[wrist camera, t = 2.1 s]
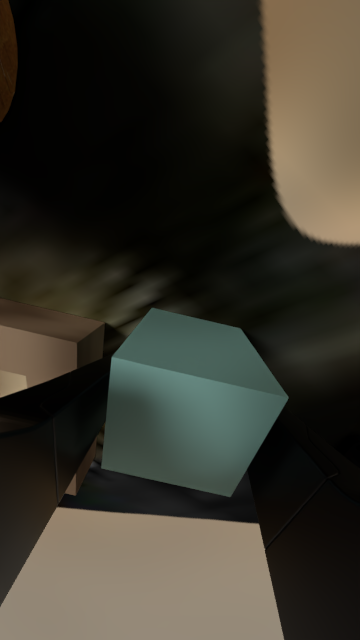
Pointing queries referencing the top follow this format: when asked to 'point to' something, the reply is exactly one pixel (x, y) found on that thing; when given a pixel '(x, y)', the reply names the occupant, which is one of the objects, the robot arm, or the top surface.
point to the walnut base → (46, 353)
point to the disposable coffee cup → (7, 58)
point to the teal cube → (188, 403)
